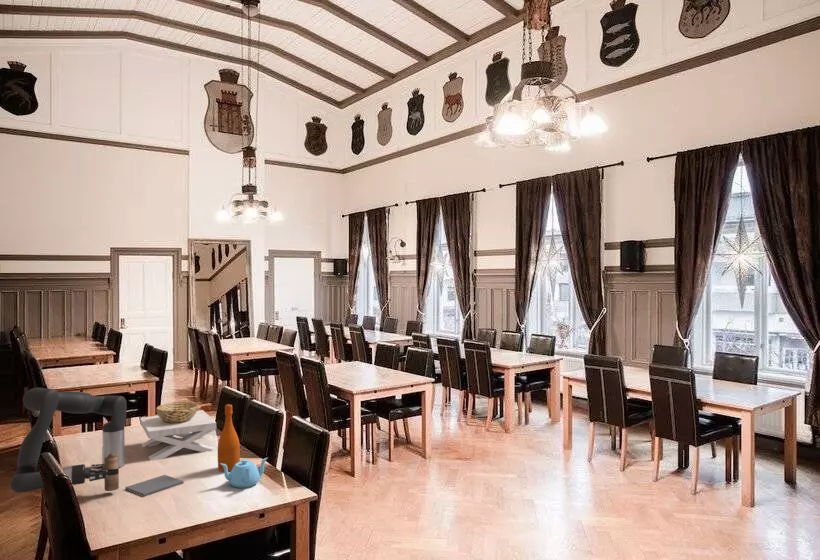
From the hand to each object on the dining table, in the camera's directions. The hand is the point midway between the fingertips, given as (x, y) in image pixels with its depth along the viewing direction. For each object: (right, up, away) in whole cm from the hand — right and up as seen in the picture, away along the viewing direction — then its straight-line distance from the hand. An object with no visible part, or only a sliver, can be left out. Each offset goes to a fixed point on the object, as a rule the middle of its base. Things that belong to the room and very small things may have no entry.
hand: (118, 469), depth 238 cm
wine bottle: (+37, -10, +29) cm, 48 cm away
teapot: (+50, -10, +9) cm, 51 cm away
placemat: (+12, -10, +7) cm, 17 cm away
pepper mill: (-2, -8, -1) cm, 8 cm away
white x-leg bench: (-1, -10, +63) cm, 64 cm away
